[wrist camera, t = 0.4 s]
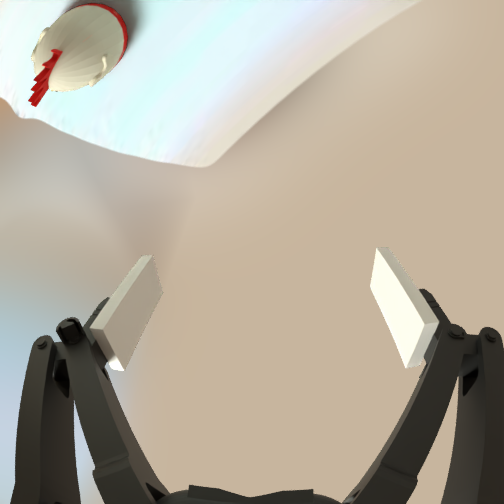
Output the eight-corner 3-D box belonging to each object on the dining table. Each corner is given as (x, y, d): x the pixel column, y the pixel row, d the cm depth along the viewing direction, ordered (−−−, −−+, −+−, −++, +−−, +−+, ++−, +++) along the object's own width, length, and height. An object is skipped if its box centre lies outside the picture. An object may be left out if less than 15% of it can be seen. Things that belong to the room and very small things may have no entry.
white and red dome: (41, 62, 27) (-11, 112, 20) (73, -8, 19) (9, 21, 11) (103, 89, 35) (64, 145, 28) (144, 23, 27) (103, 58, 19)
